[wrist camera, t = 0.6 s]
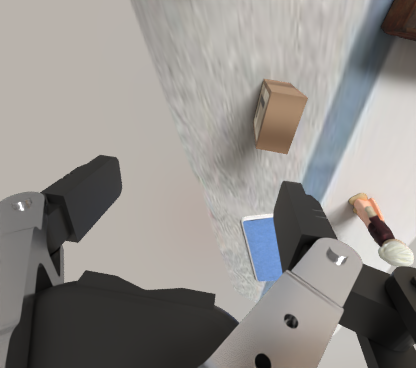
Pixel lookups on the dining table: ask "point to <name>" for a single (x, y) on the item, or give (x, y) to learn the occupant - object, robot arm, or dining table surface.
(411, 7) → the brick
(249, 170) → the dining table surface
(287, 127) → the marked cardboard box
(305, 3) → the dining table surface
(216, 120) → the dining table surface
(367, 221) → the grandmother figurine
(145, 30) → the dining table surface
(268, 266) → the tablet computer
